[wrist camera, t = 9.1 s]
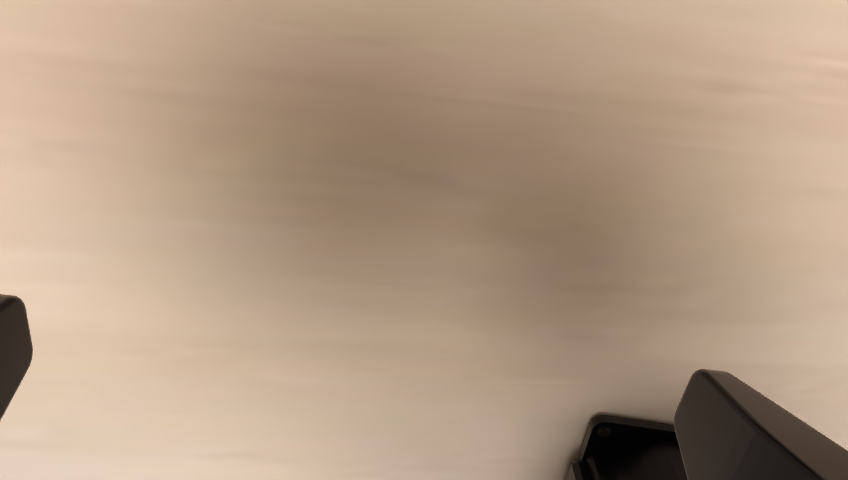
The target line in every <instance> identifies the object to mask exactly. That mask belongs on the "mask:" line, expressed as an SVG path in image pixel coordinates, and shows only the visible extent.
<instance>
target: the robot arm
mask: <svg viewBox="0 0 848 480" xmlns="http://www.w3.org/2000/svg"><path fill="white" fill-rule="evenodd" d="M32 353H33V348H32V341H31V336H30V330H29V324H28V319H27V313H26V308H25V305H24V303H23V301H22V300H21V299H20V298H18V297H17V296H12V295H2V294H0V420H1V418H2V417H3V415H4V413H5V411H6V409H7V407H8V405H9V403H10V402H11V400H12V398H13V396H14V394H15V392H16V390H17V389H18V387H19V385H20V383H21V381H22V379H23V377H24V376H25V374H26V372H27V370H28V368H29V366H30V363H31V360H32ZM602 427H607V429H605V430H601V431H600V430H599V429H600V428H602ZM566 480H848V451H847V450H846V449H844V448H843V447H841V446H840V445H838V444H836V443H835V442H833V441H832V440H830V439H829V438H827V437H826V436H824V435H823V434H821V433H820V432H818V431H817V430H815V429H814V428H812V427H811V426H809V425H808V424H806V423H805V422H803V421H802V420H800V419H798V418H797V417H795V416H794V415H792V414H791V413H789V412H788V411H786V410H785V409H783V408H782V407H780V406H779V405H777V404H776V403H774V402H773V401H771V400H770V399H768V398H767V397H765V396H764V395H762V394H761V393H759V392H757V391H756V390H754V389H753V388H751V387H750V386H748V385H747V384H745V383H744V382H742V381H741V380H739V379H738V378H736V377H735V376H733V375H732V374H730V373H728V372H724V371H716V370H706V369H700V370H697V371H696V372H695V373H694V374H693V375H692V376H691V378H690V381H689V383H688V385H687V387H686V390H685V392H684V394H683V397H682V399H681V401H680V403H679V406H678V408H677V410H676V413H675V418H674V425H668V424H661V423H654V422H647V421H640V420H633V419H626V418H619V417H613V416H606V415H600V416H597V417H595V418H593V419H592V420H591V422H590V423H589V426H588V430H587V433H586V436H585V439H584V442H583V445H582V448H581V451H580V454H579V457H578V460H575V461H574V462H573V463H571V465H570V468H569V471H568V474H567V477H566Z"/></svg>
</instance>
